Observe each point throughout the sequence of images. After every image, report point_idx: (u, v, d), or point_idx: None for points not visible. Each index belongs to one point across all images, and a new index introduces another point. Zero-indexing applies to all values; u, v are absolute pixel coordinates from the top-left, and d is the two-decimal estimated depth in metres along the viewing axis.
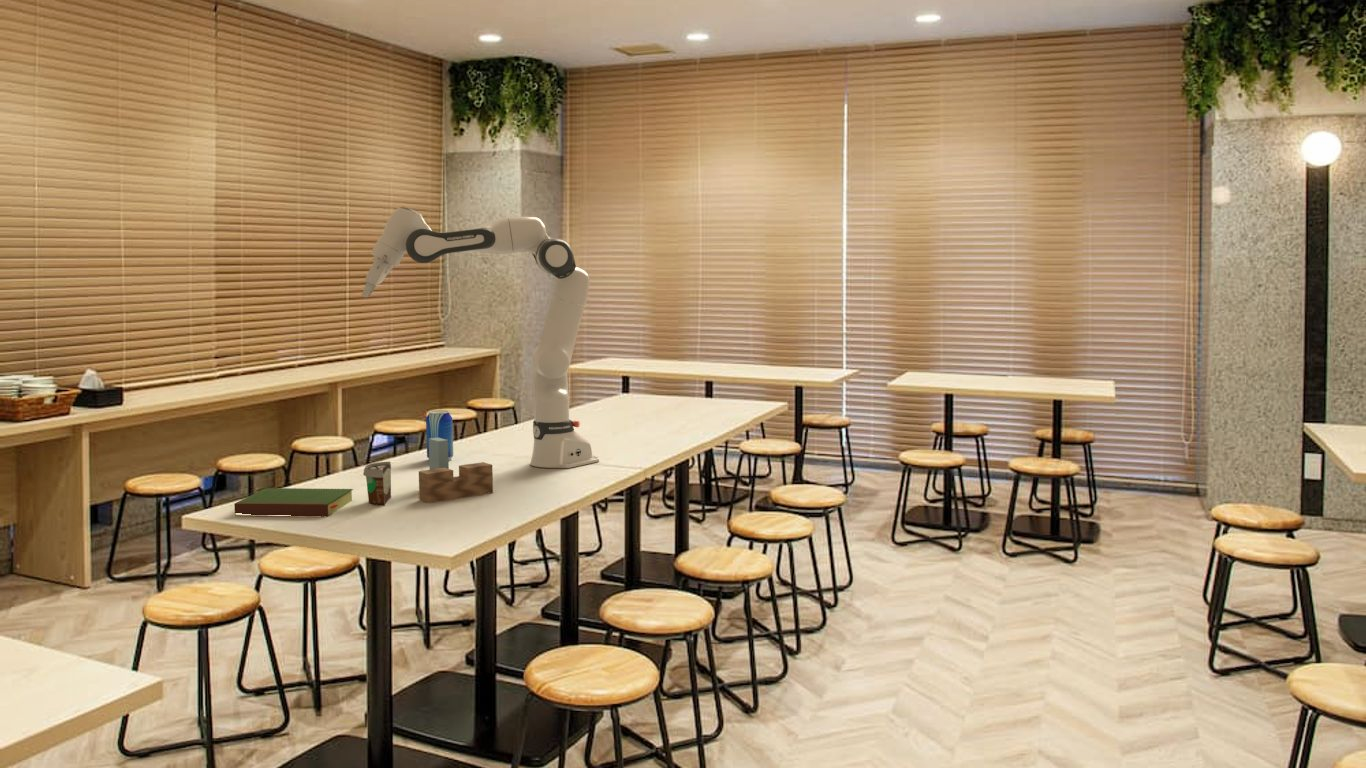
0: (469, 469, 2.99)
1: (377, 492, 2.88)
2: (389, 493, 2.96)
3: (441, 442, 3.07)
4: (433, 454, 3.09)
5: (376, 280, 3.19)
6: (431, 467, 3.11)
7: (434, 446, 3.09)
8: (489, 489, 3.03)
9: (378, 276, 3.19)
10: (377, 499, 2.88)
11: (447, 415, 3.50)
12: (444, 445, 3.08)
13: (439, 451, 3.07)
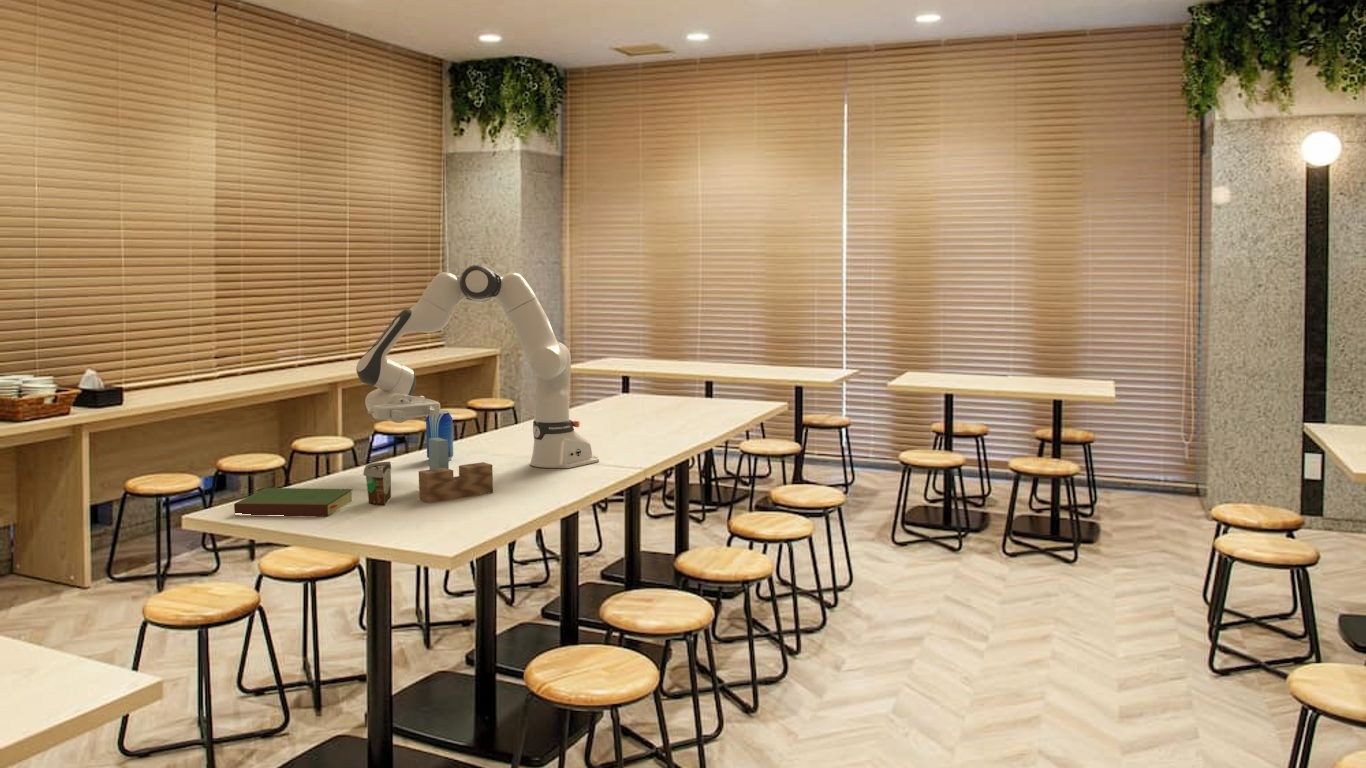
0: (469, 469, 2.99)
1: (377, 492, 2.88)
2: (389, 493, 2.96)
3: (441, 442, 3.07)
4: (433, 454, 3.09)
5: (376, 409, 3.16)
6: (431, 467, 3.11)
7: (434, 446, 3.09)
8: (489, 489, 3.03)
9: (375, 408, 3.18)
10: (377, 499, 2.88)
11: (447, 415, 3.50)
12: (444, 445, 3.08)
13: (439, 451, 3.07)
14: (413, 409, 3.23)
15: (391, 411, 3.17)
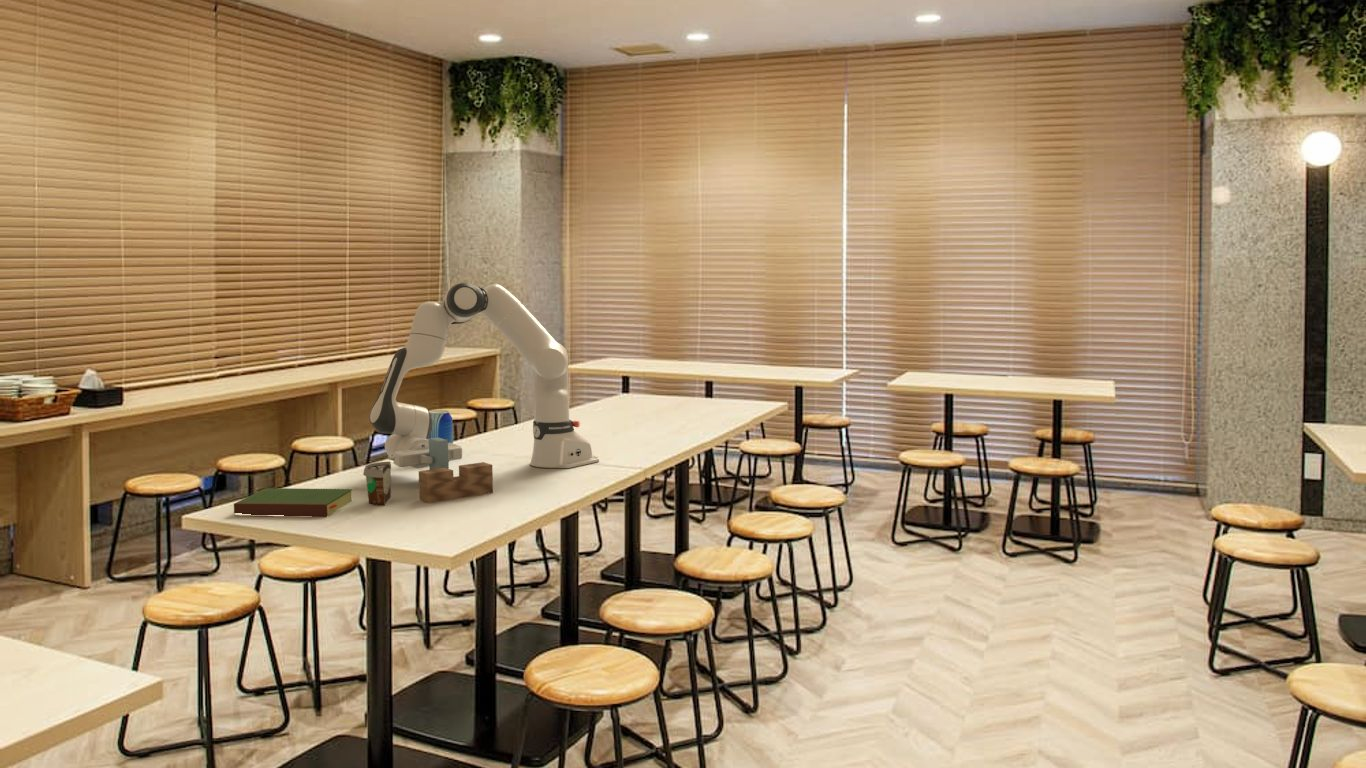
0: (469, 469, 2.99)
1: (377, 492, 2.88)
2: (389, 493, 2.96)
3: (441, 442, 3.07)
4: (433, 454, 3.09)
5: (398, 456, 3.08)
6: (431, 467, 3.11)
7: (434, 446, 3.09)
8: (489, 489, 3.03)
9: (396, 455, 3.09)
10: (377, 499, 2.88)
11: (447, 415, 3.50)
12: (444, 445, 3.08)
13: (439, 451, 3.07)
14: None
15: (420, 457, 3.10)
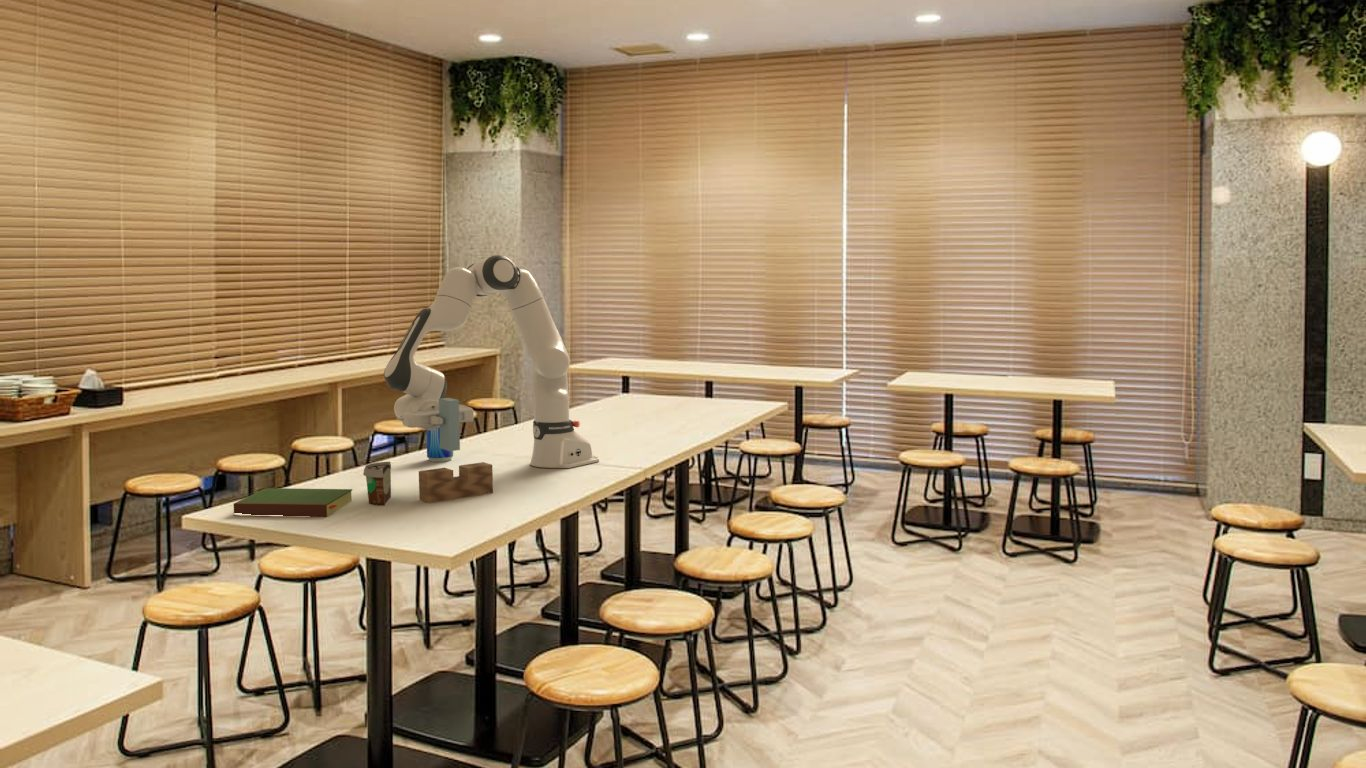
0: (469, 469, 2.99)
1: (377, 492, 2.88)
2: (389, 493, 2.96)
3: (452, 402, 2.97)
4: (443, 414, 2.99)
5: (407, 416, 2.98)
6: (441, 428, 3.01)
7: (444, 406, 2.98)
8: (489, 489, 3.03)
9: (405, 415, 2.99)
10: (377, 499, 2.88)
11: None
12: (455, 404, 2.97)
13: (450, 411, 2.97)
14: None
15: (430, 417, 3.00)
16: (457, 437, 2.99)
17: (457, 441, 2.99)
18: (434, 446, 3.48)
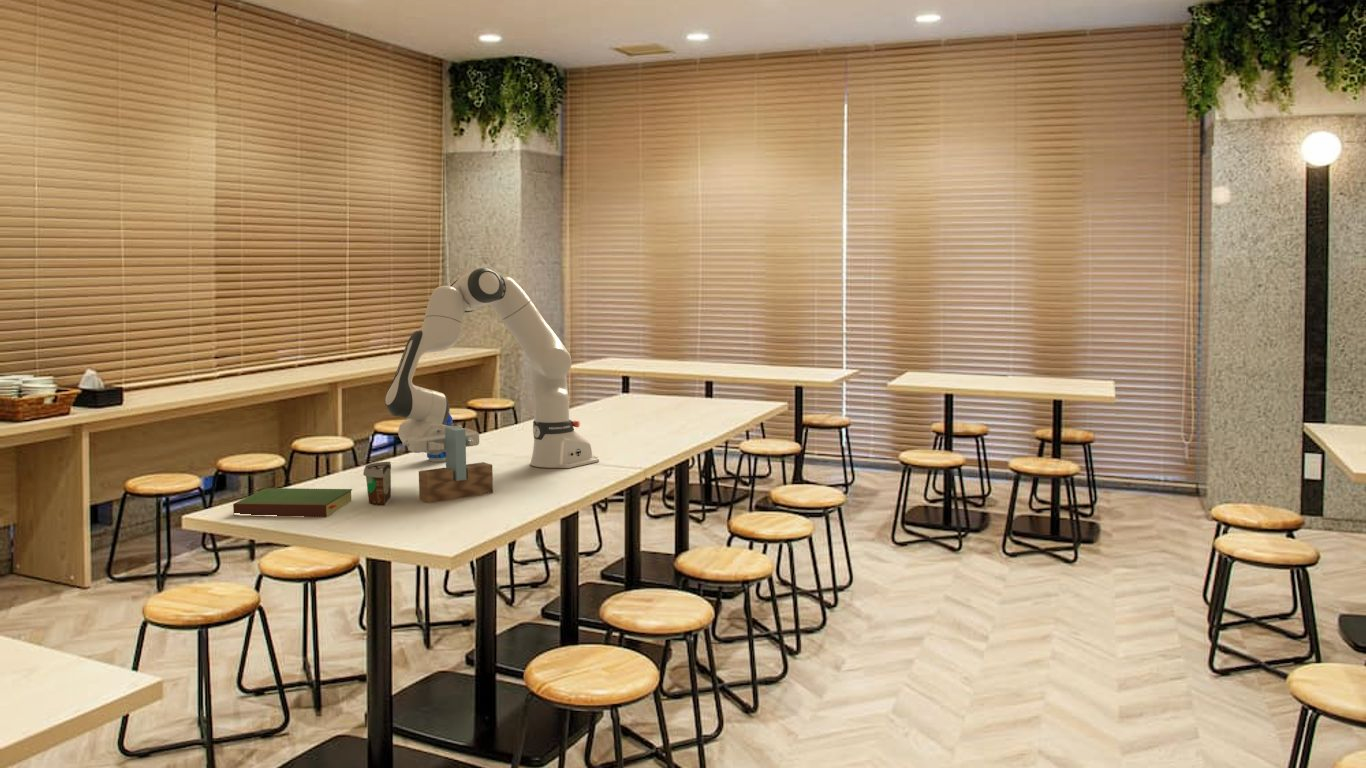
0: (469, 469, 2.99)
1: (377, 492, 2.88)
2: (389, 493, 2.96)
3: (458, 431, 2.95)
4: (450, 444, 2.97)
5: (412, 441, 2.95)
6: (447, 457, 2.99)
7: (451, 435, 2.96)
8: (489, 489, 3.03)
9: (411, 441, 2.96)
10: (377, 499, 2.88)
11: None
12: (461, 434, 2.95)
13: (457, 440, 2.95)
14: None
15: (428, 443, 2.96)
16: (464, 467, 2.97)
17: (464, 471, 2.97)
18: None
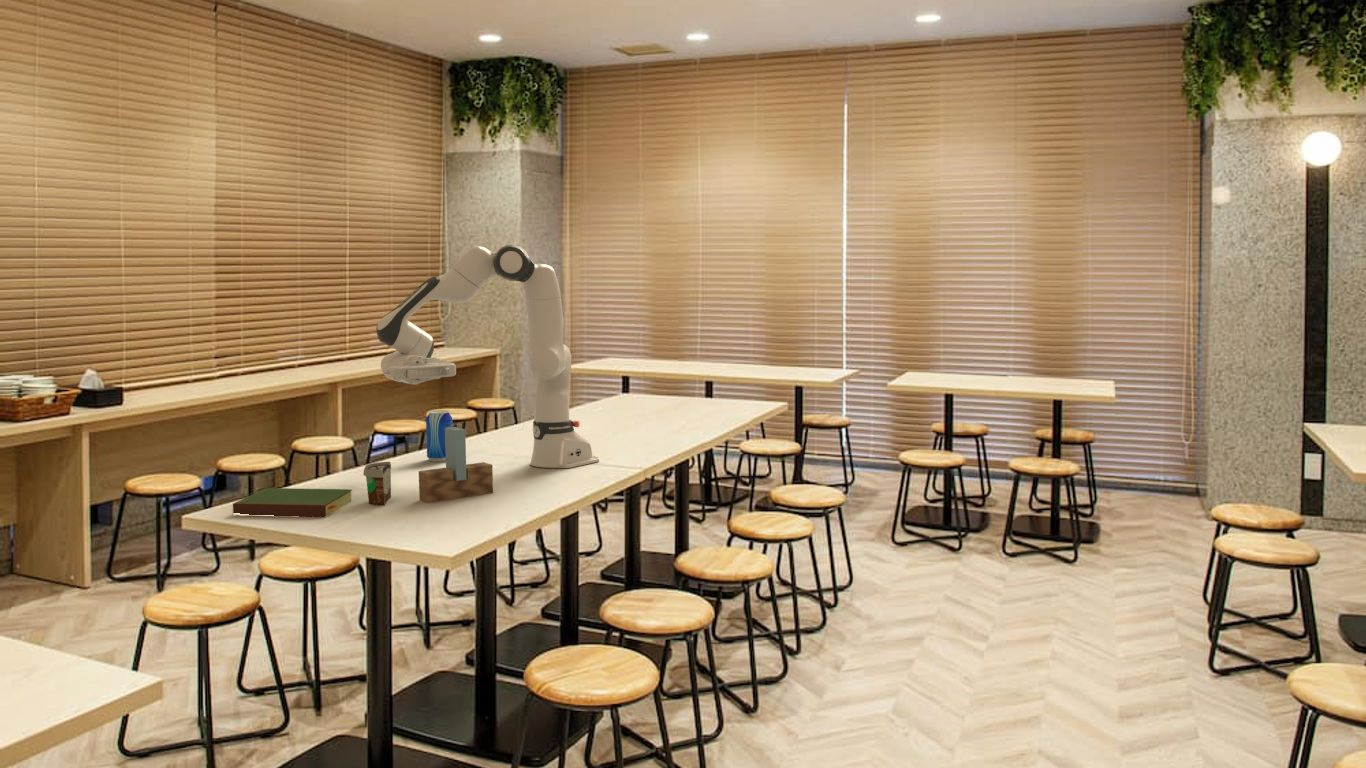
0: (469, 469, 2.99)
1: (377, 492, 2.88)
2: (389, 493, 2.96)
3: (458, 431, 2.95)
4: (450, 444, 2.97)
5: (392, 369, 3.15)
6: (447, 458, 2.99)
7: (450, 435, 2.96)
8: (489, 489, 3.03)
9: (391, 369, 3.16)
10: (377, 499, 2.88)
11: (447, 415, 3.50)
12: (461, 434, 2.95)
13: (456, 440, 2.95)
14: (429, 370, 3.22)
15: (407, 371, 3.16)
16: (464, 467, 2.97)
17: (464, 471, 2.97)
18: (434, 446, 3.48)
